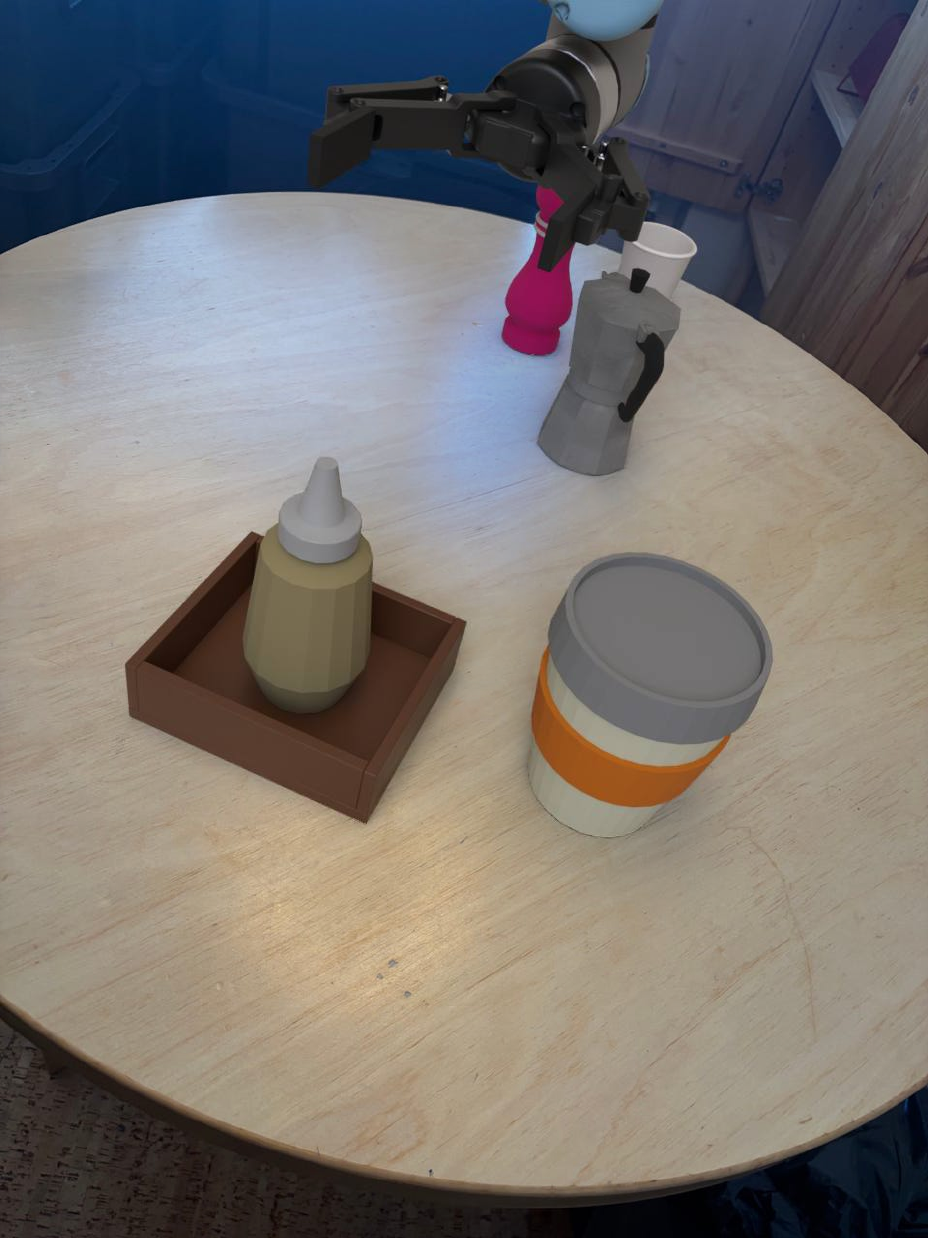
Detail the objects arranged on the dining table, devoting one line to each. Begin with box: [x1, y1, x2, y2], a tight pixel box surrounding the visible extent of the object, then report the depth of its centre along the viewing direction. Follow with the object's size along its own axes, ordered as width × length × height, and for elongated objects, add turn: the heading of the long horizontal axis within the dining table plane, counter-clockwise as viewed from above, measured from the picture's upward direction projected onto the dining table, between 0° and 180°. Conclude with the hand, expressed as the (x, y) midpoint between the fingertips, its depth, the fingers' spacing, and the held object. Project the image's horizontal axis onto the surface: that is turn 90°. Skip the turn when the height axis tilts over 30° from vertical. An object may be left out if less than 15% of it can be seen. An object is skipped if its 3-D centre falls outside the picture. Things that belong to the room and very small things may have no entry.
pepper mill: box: [501, 184, 577, 356], centre depth 97 cm, size 7×7×20 cm
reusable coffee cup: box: [527, 551, 774, 836], centre depth 58 cm, size 13×12×15 cm
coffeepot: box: [536, 268, 682, 476], centre depth 84 cm, size 15×9×18 cm, turn 10°
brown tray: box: [124, 530, 467, 824], centre depth 62 cm, size 17×15×5 cm
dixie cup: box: [618, 221, 698, 301], centre depth 109 cm, size 8×8×10 cm
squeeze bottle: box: [243, 456, 374, 714], centre depth 57 cm, size 8×8×18 cm
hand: (429, 202), depth 50 cm, fingers open, 13 cm apart
